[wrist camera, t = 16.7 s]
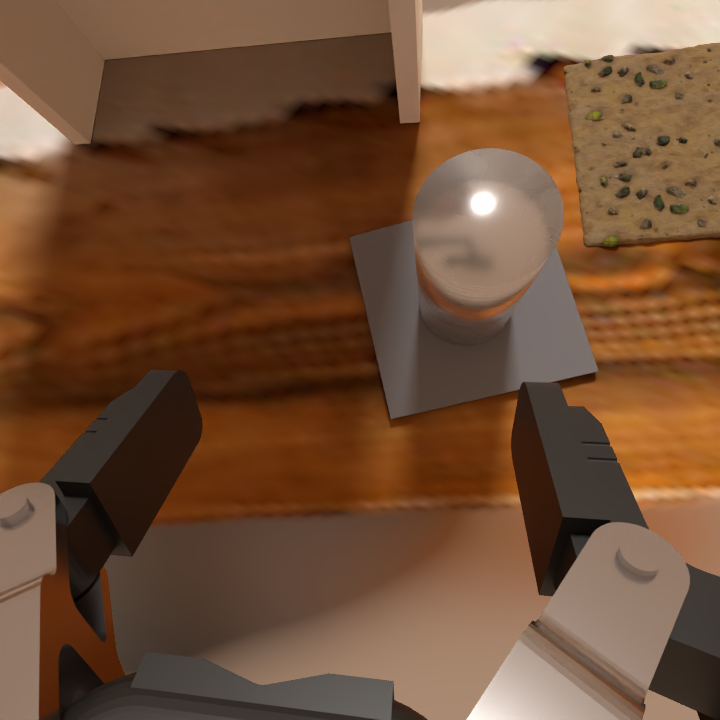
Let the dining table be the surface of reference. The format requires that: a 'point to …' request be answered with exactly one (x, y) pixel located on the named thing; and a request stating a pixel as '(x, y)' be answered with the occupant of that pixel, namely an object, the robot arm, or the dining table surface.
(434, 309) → the pale cylinder
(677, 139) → the cookie
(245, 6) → the white c-shaped side table
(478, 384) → the rubber mat
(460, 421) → the dining table surface
